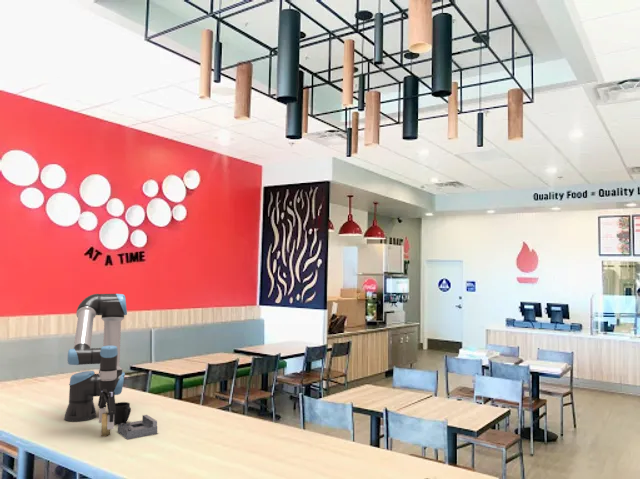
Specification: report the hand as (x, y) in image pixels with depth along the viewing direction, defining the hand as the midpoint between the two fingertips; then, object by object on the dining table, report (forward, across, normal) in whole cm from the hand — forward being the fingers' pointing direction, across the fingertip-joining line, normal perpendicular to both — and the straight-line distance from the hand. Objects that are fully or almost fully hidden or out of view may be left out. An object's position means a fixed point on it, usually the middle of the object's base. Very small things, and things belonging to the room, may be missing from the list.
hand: (106, 425), depth 242 cm
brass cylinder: (+4, 0, 0) cm, 4 cm away
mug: (+5, -14, +12) cm, 19 cm away
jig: (+4, +5, +13) cm, 15 cm away
